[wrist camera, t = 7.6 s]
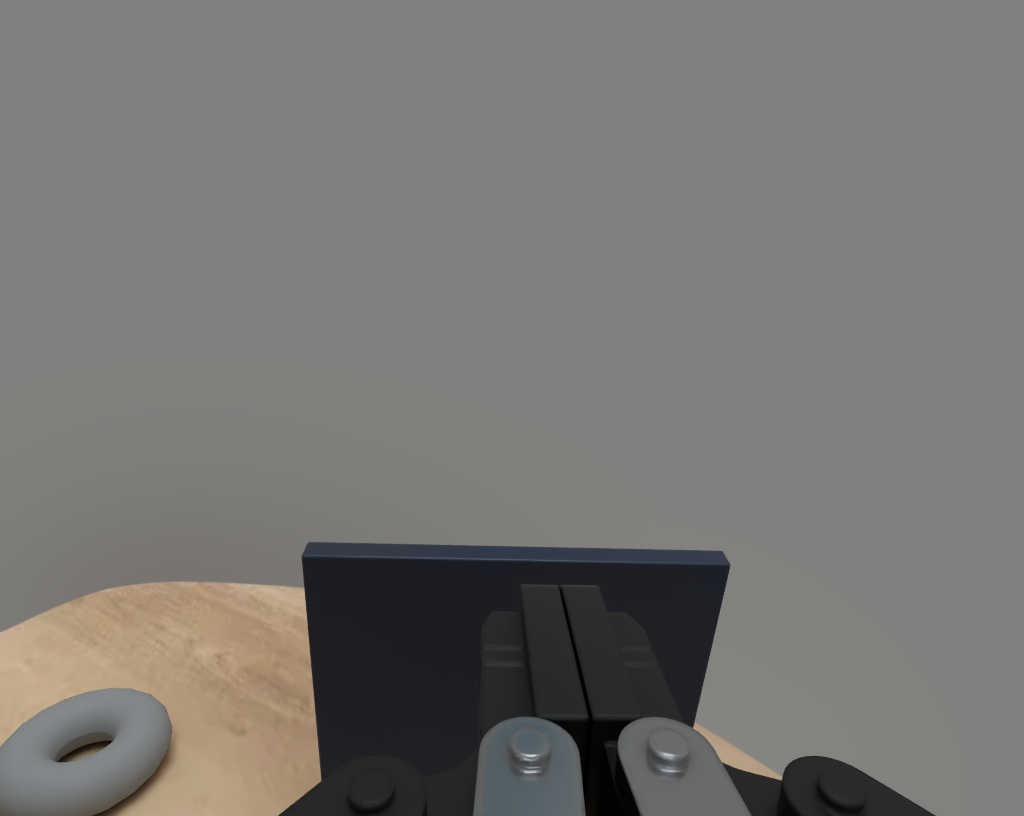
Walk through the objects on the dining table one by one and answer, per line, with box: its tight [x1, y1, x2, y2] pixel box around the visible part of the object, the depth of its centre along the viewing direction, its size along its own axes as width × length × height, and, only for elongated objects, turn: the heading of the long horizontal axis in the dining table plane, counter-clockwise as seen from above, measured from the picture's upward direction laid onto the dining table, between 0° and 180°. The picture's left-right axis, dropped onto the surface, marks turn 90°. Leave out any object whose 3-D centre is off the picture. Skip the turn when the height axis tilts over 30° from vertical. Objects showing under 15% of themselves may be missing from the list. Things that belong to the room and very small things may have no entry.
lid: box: [302, 542, 730, 781], centre depth 24 cm, size 16×14×1 cm
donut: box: [0, 688, 172, 816], centre depth 41 cm, size 10×3×10 cm
